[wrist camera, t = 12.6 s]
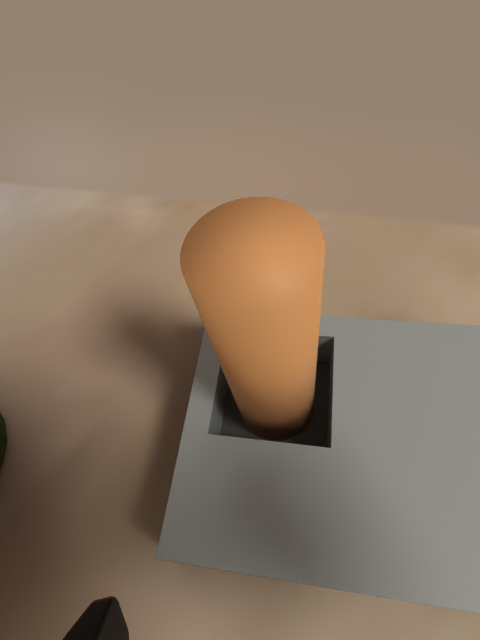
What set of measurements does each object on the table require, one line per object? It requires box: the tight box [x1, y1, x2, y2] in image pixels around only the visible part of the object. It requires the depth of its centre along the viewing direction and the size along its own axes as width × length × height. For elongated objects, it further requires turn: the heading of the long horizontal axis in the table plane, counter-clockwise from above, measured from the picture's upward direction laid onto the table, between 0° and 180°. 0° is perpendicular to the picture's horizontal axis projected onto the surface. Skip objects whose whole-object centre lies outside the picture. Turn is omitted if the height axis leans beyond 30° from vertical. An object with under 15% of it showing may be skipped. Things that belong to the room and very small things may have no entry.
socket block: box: [156, 316, 480, 614], centre depth 20 cm, size 12×14×4 cm
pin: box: [180, 197, 325, 441], centre depth 17 cm, size 4×4×13 cm
